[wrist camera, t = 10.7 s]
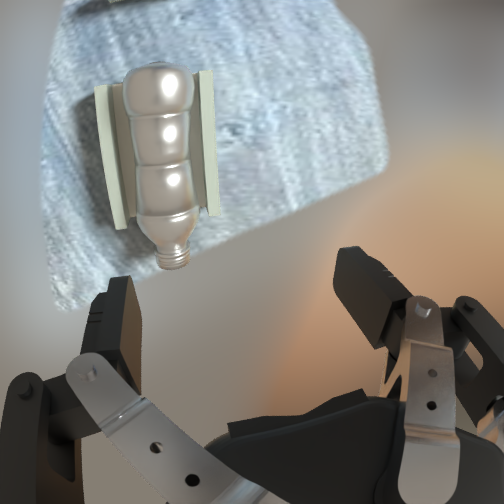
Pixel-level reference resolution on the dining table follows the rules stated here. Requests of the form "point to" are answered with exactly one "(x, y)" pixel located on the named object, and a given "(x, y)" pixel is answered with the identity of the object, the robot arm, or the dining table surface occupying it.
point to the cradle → (122, 156)
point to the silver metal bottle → (163, 157)
